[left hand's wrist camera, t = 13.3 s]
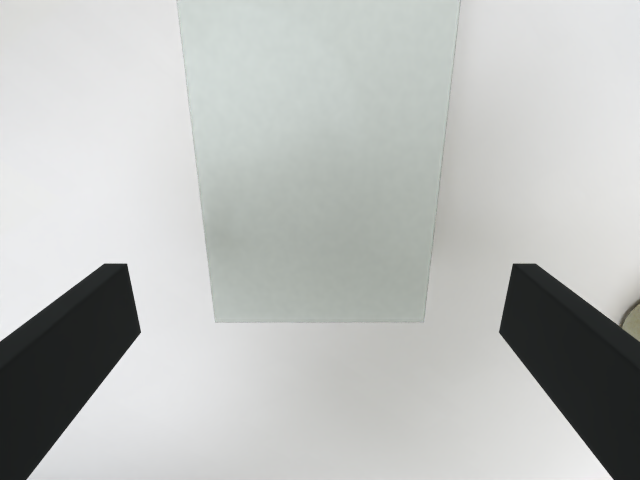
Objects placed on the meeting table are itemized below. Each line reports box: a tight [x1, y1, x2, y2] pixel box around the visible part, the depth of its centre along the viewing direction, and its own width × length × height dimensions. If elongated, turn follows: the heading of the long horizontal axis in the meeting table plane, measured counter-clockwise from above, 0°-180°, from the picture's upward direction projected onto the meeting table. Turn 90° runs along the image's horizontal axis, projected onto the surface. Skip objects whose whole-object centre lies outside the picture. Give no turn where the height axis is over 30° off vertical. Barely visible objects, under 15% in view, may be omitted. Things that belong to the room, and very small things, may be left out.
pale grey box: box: [177, 0, 461, 322], centre depth 20 cm, size 20×11×8 cm, turn 0°
